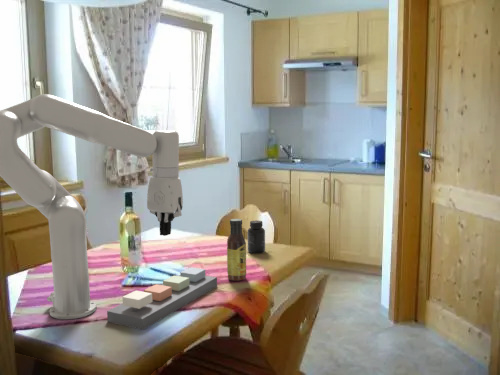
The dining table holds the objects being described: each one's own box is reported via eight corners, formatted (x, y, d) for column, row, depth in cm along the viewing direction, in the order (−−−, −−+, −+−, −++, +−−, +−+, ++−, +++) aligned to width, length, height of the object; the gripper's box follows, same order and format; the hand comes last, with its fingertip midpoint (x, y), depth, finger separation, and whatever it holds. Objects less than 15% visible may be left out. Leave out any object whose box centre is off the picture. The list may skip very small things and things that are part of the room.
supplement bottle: (267, 253, 210) (267, 222, 209) (250, 254, 209) (249, 224, 207) (262, 248, 217) (262, 219, 215) (245, 250, 215) (245, 220, 214)
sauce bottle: (244, 282, 177) (243, 222, 174) (225, 281, 178) (224, 221, 175) (248, 275, 183) (247, 218, 180) (230, 275, 185) (228, 217, 182)
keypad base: (107, 321, 147) (107, 311, 146) (185, 281, 179) (185, 272, 178) (143, 329, 141) (142, 318, 141) (217, 286, 173) (216, 277, 173)
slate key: (180, 279, 171) (180, 272, 170) (190, 274, 176) (190, 267, 175) (195, 282, 168) (195, 274, 168) (205, 276, 173) (205, 269, 173)
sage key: (163, 288, 163) (162, 280, 162) (174, 282, 168) (174, 275, 167) (178, 291, 160) (178, 283, 160) (189, 285, 165) (189, 277, 165)
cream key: (122, 305, 147) (122, 296, 146) (136, 298, 152) (135, 290, 151) (139, 308, 144) (138, 300, 144) (152, 301, 149) (152, 293, 149)
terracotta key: (144, 298, 155) (143, 290, 155) (156, 292, 160) (155, 284, 159) (160, 301, 152) (159, 292, 152) (172, 294, 157) (171, 286, 157)
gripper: (137, 172, 159) (137, 233, 162) (179, 176, 152) (178, 240, 155) (153, 170, 166) (153, 229, 168) (194, 173, 159) (193, 235, 161)
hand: (165, 234), depth 161 cm, fingers closed
